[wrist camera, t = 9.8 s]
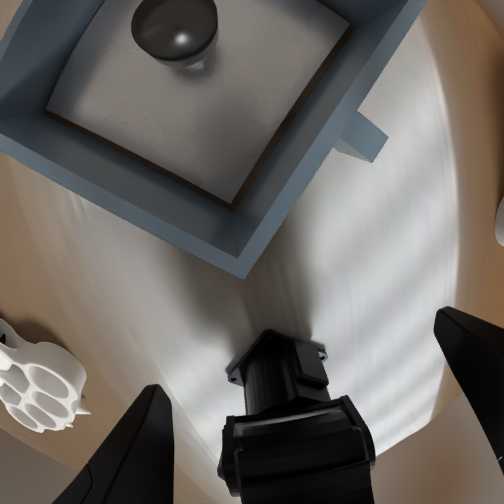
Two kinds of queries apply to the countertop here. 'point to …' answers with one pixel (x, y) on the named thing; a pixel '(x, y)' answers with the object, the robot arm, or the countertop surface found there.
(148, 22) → the lid with knob
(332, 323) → the countertop surface
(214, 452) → the countertop surface
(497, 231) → the cup
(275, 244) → the countertop surface
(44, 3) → the blue grey open box
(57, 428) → the white muffin tray
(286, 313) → the countertop surface
